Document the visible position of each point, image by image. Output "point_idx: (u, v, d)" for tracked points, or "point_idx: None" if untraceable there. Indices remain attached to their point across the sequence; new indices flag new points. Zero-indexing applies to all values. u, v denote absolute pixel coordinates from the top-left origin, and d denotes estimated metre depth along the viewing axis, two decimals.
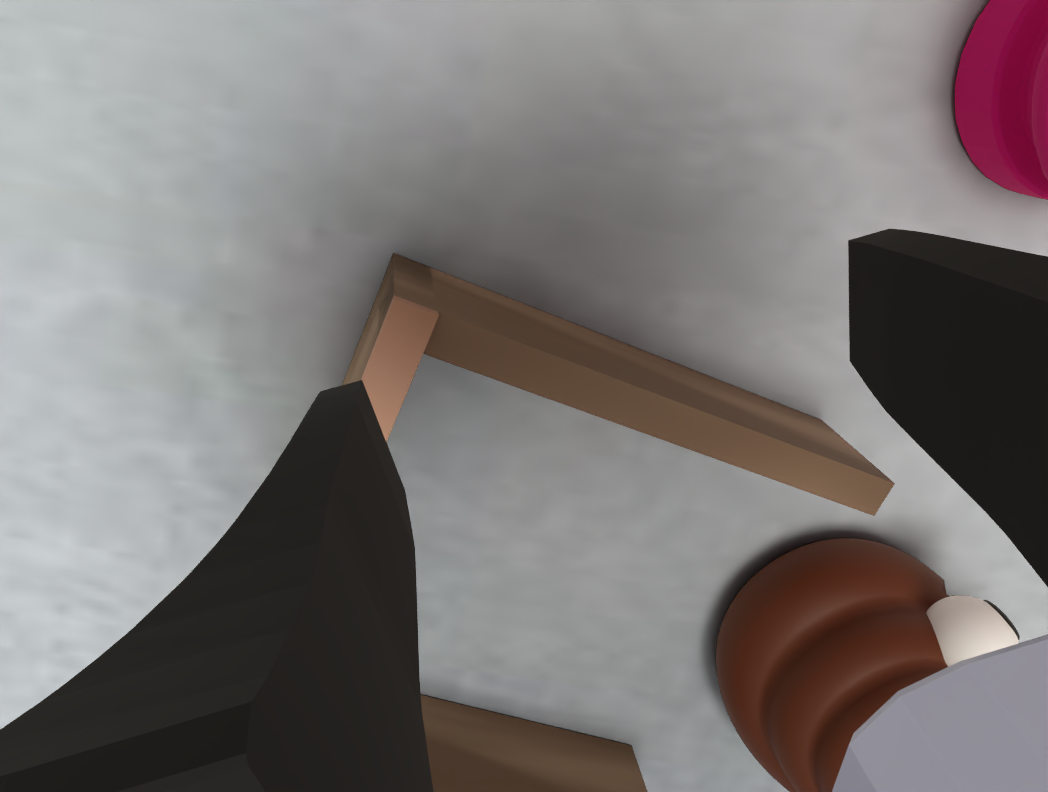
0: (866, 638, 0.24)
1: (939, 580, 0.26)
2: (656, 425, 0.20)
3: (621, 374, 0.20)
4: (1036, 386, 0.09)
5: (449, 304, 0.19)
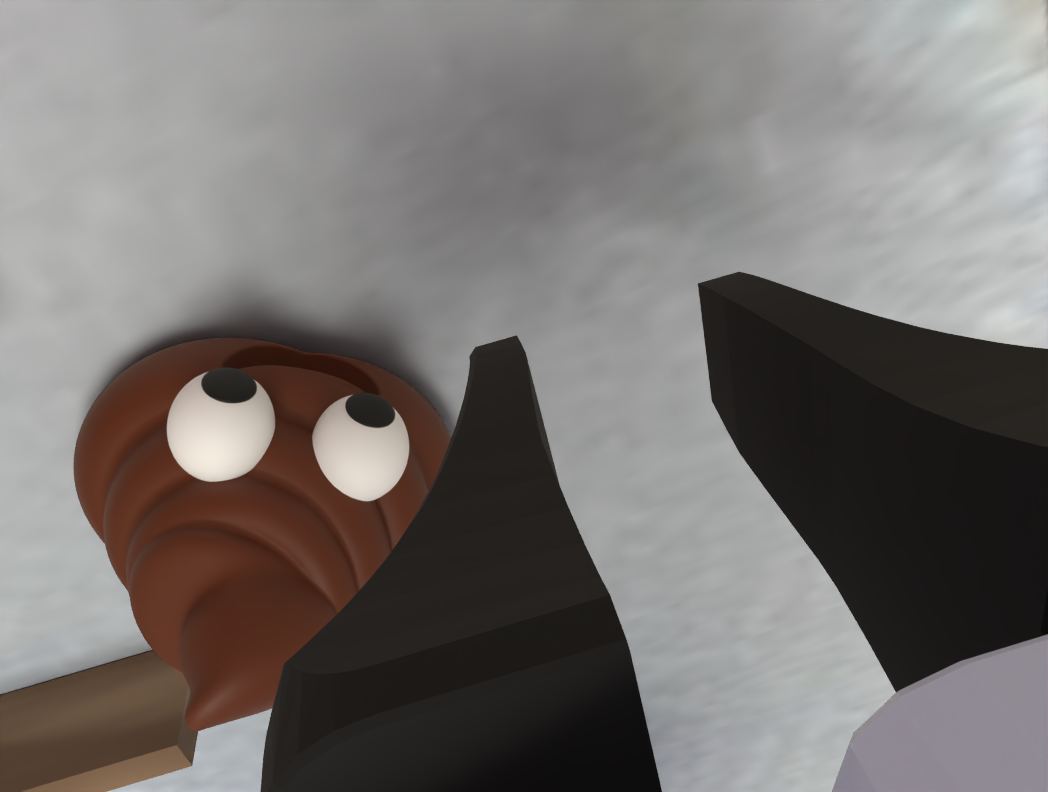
0: (113, 492, 0.19)
1: (221, 357, 0.20)
2: None
3: None
4: (839, 444, 0.09)
5: None
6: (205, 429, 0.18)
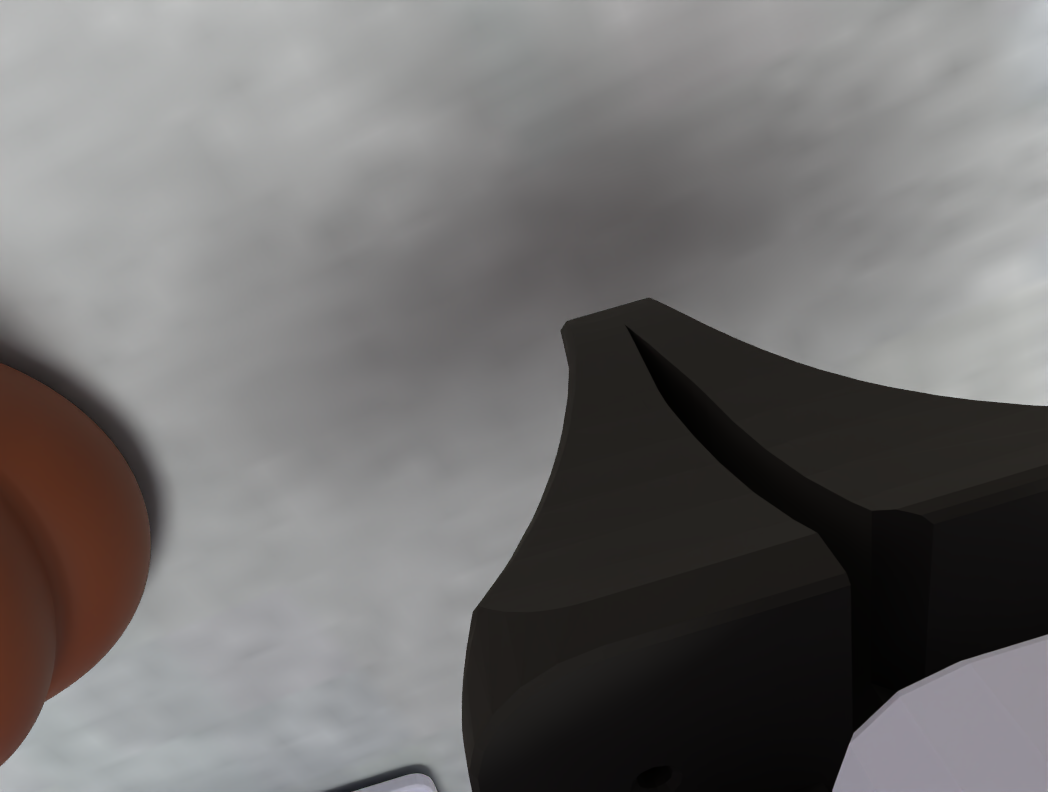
0: None
1: None
2: None
3: None
4: None
5: None
6: None
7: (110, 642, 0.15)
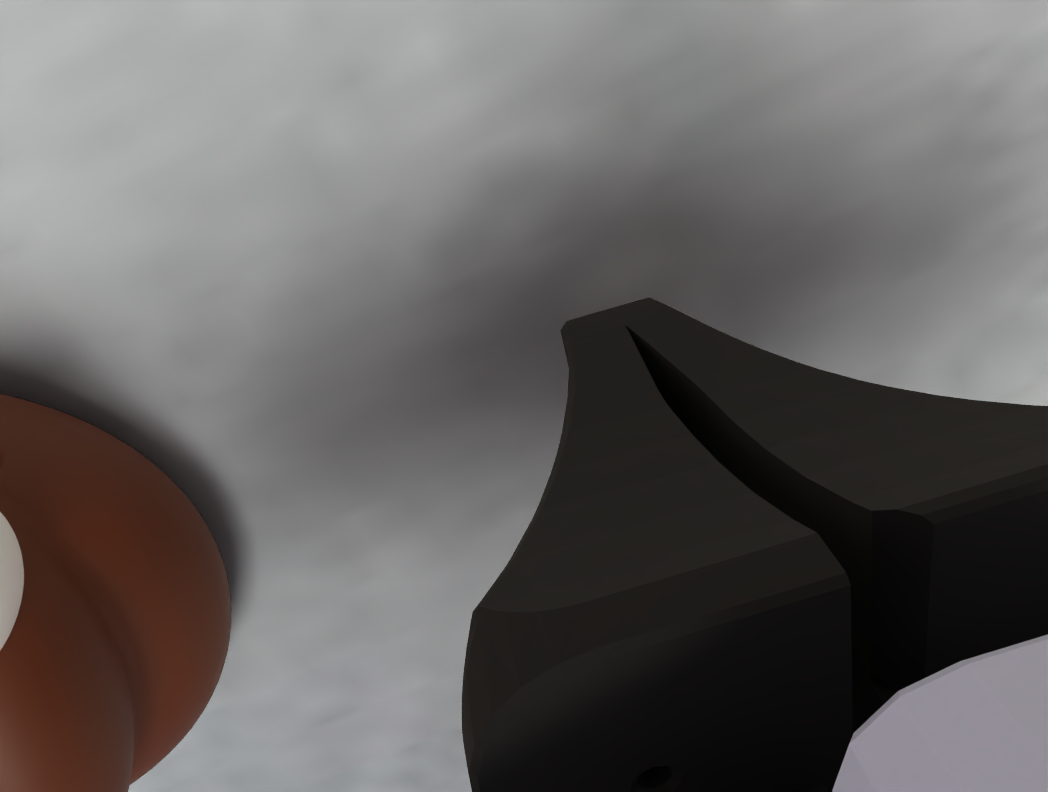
0: None
1: None
2: None
3: None
4: None
5: None
6: None
7: (187, 730, 0.13)
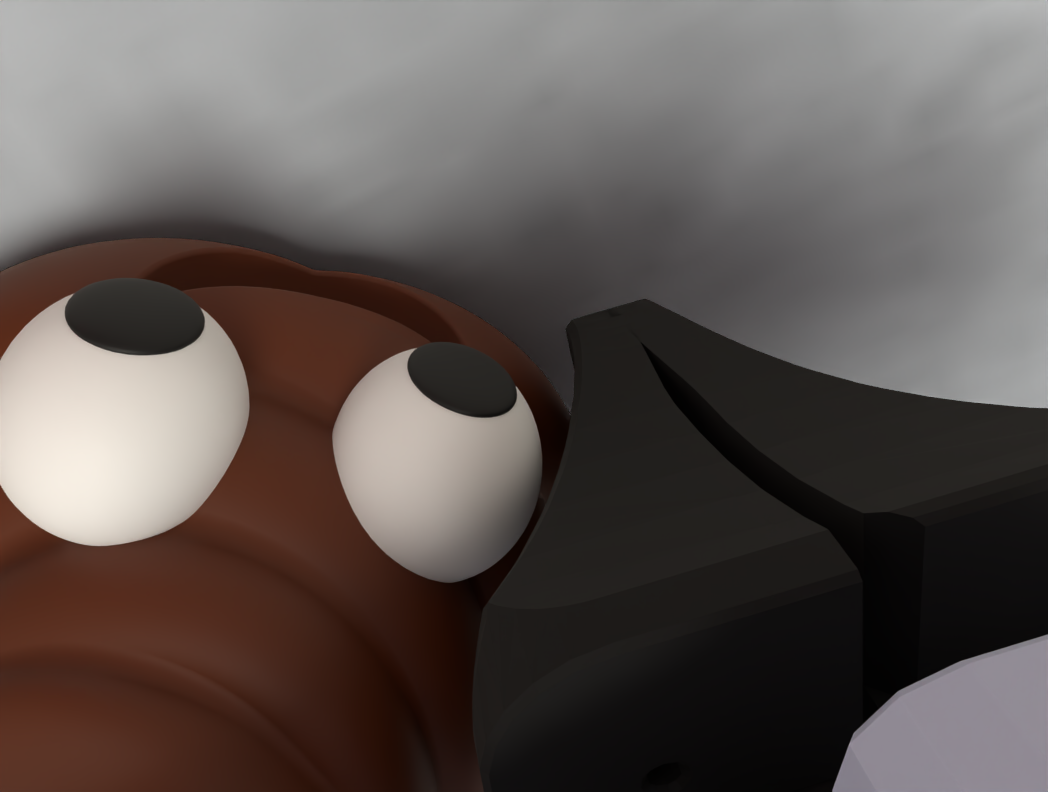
0: None
1: (138, 268, 0.10)
2: None
3: None
4: None
5: None
6: (64, 420, 0.07)
7: None
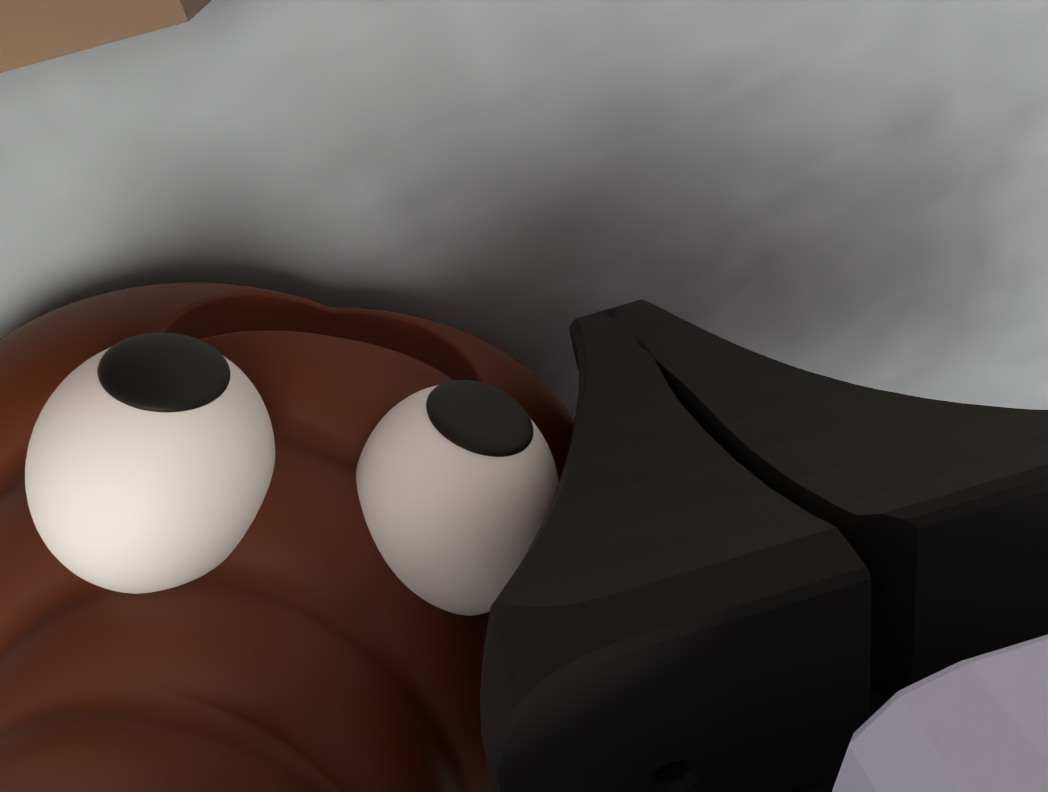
0: None
1: (162, 316, 0.10)
2: None
3: None
4: None
5: None
6: (101, 479, 0.07)
7: None
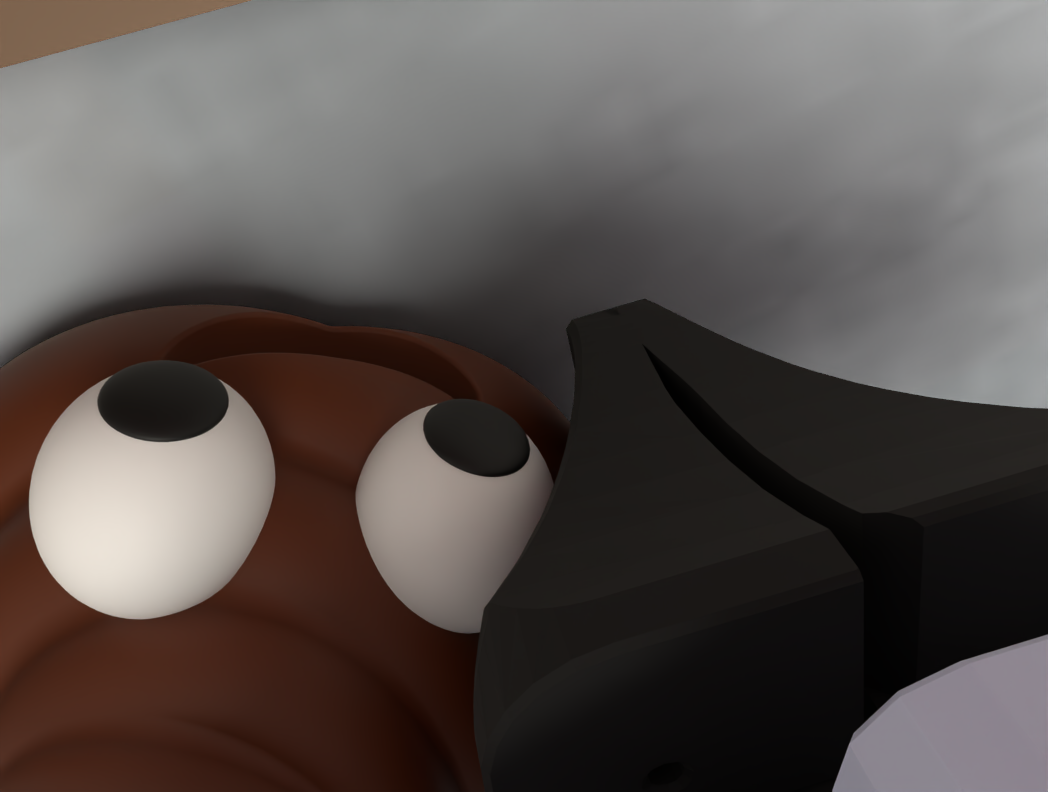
0: None
1: (162, 341, 0.10)
2: None
3: None
4: None
5: None
6: (102, 509, 0.07)
7: None
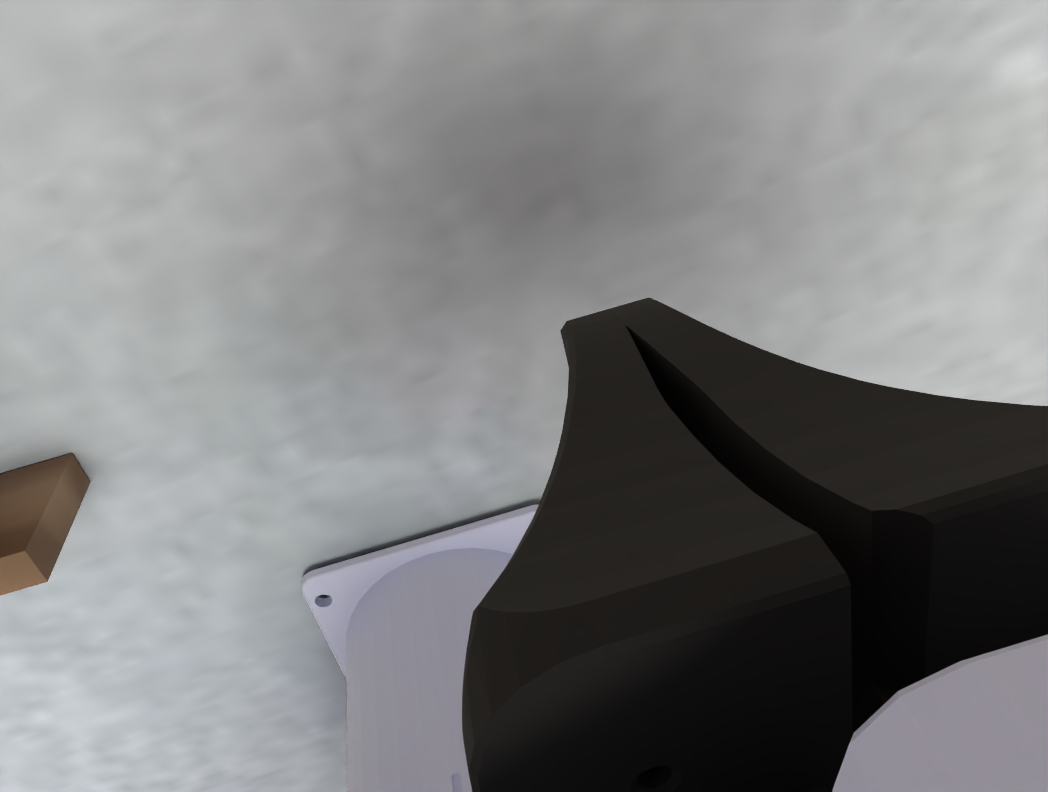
0: None
1: None
2: None
3: None
4: None
5: None
6: None
7: None
